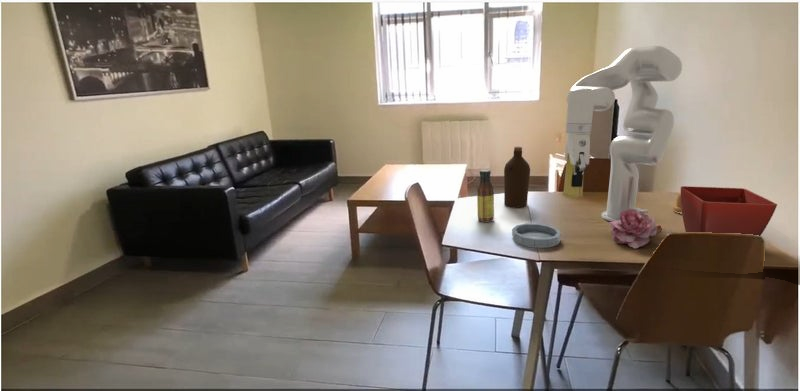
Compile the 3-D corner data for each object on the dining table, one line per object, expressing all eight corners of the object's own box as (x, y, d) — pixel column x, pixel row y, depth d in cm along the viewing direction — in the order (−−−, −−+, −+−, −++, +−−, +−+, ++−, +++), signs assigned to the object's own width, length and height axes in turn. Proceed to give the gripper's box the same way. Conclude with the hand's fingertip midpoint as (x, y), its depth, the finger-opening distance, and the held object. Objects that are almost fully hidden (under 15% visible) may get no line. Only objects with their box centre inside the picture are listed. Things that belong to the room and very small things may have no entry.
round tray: (553, 231, 156) (553, 223, 155) (565, 248, 141) (565, 239, 140) (509, 231, 157) (509, 223, 156) (516, 247, 142) (517, 239, 141)
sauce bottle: (495, 218, 171) (497, 169, 165) (491, 223, 165) (493, 172, 160) (479, 216, 174) (480, 168, 168) (474, 221, 168) (475, 171, 163)
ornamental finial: (670, 213, 171) (674, 208, 176) (693, 216, 166) (696, 212, 172) (673, 193, 169) (677, 189, 174) (696, 196, 164) (699, 192, 169)
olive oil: (528, 209, 181) (532, 149, 174) (502, 208, 184) (504, 149, 177) (527, 201, 191) (530, 145, 184) (503, 200, 193) (505, 145, 187)
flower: (599, 224, 153) (609, 200, 148) (642, 229, 152) (653, 206, 147) (611, 251, 141) (622, 227, 135) (658, 257, 140) (671, 233, 134)
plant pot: (735, 235, 147) (744, 187, 142) (767, 258, 129) (779, 204, 125) (672, 232, 151) (679, 185, 147) (695, 254, 133) (703, 202, 129)
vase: (584, 198, 139) (588, 154, 136) (564, 197, 140) (568, 154, 137) (580, 193, 145) (584, 151, 141) (561, 193, 146) (564, 150, 142)
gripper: (601, 131, 129) (595, 191, 133) (581, 125, 145) (576, 178, 150) (575, 132, 129) (570, 191, 134) (558, 125, 145) (554, 178, 150)
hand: (573, 183), depth 142 cm, fingers closed on vase, 5 cm apart
